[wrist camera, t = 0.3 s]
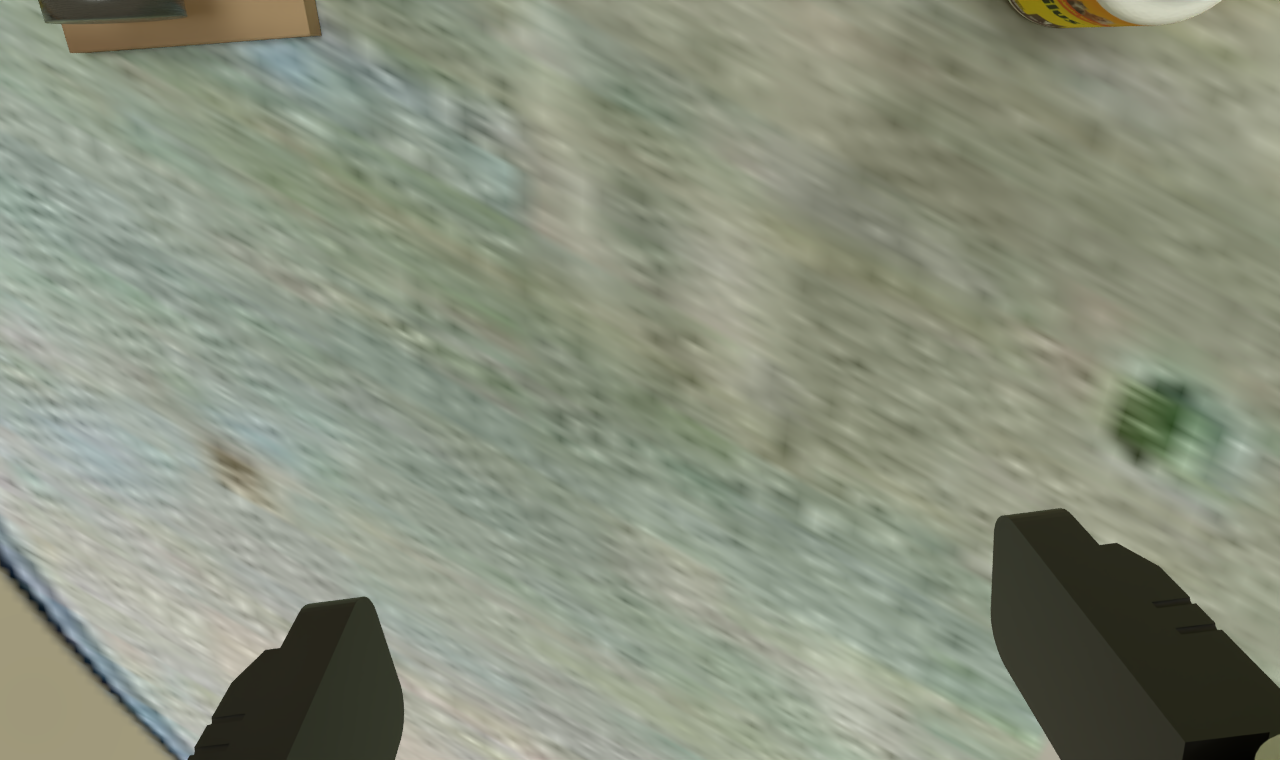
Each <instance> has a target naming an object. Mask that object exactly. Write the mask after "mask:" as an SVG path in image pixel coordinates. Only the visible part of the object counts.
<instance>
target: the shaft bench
mask: <svg viewBox="0 0 1280 760" xmlns="http://www.w3.org/2000/svg"><path fill="white" fill-rule="evenodd" d="M184 4H185V8H186V12H187V16H188V17H186V18H180V19H173V20H163V21H150V22H134V23H112V24H62V28H63V31H64V34H65V38H66V41H67V44H68V48H69V51H70V53H91V52H105V51H119V50H132V49H146V48H159V47H173V46H186V45H200V44H213V43H227V42H241V41H254V40H268V39H281V38H295V37H308V36H322V35H321V30H320V24H319V19H318V14H317V9H316V4H315V0H184Z"/></svg>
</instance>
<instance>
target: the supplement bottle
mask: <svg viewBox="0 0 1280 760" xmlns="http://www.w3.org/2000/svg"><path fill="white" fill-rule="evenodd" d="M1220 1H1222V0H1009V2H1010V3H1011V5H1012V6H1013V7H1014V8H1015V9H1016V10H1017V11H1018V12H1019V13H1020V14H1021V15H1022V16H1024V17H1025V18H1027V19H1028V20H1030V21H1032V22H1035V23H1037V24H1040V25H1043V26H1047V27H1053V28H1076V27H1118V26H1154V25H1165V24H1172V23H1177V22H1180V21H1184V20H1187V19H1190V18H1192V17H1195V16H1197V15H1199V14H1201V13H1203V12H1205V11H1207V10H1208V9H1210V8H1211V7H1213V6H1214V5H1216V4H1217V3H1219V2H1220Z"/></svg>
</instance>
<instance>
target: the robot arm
mask: <svg viewBox="0 0 1280 760" xmlns="http://www.w3.org/2000/svg"><path fill="white" fill-rule="evenodd" d="M991 624H992V630H993V635H994V639H995V643H996V646H997V649H998V652H999V655H1000V657H1001V659H1002V661H1003V663H1004V665H1005V667H1006V669H1007V670H1008V672H1009V674H1010V676H1011V677H1012V679H1013V681H1014V682H1015V684H1016V686H1017V687H1018V689H1019V691H1020V692H1021V694H1022V696H1023V697H1024V699H1025V701H1026V702H1027V704H1028V706H1029V707H1030V709H1031V711H1032V712H1033V714H1034V716H1035V717H1036V719H1037V721H1038V722H1039V724H1040V726H1041V727H1042V729H1043V731H1044V732H1045V734H1046V736H1047V737H1048V739H1049V741H1050V742H1051V744H1052V746H1053V747H1054V749H1055V751H1056V753H1057V754H1058V756H1059V758H1060V759H1061V760H1280V688H1279V687H1278V686H1277V685H1276V684H1275V683H1274V682H1273V681H1272V680H1271V679H1270V678H1269V677H1268V676H1267V675H1266V674H1265V673H1264V672H1263V671H1262V670H1261V669H1260V668H1259V667H1258V666H1257V665H1256V664H1255V663H1254V662H1253V661H1252V660H1251V659H1250V658H1249V657H1248V656H1247V655H1246V654H1245V653H1244V652H1243V651H1242V650H1241V649H1240V648H1239V647H1238V646H1237V645H1236V644H1235V643H1234V642H1233V641H1232V640H1231V639H1230V638H1229V637H1228V635H1227V634H1226V633H1225V632H1224V631H1223V630H1217V628H1216V626H1215V622H1214V621H1213V620H1212V619H1211V618H1210V617H1209V616H1208V615H1207V614H1206V613H1205V612H1204V611H1203V610H1202V609H1201V608H1200V607H1199V606H1198V605H1197V604H1192V603H1191V601H1190V597H1189V596H1188V595H1187V594H1186V593H1185V592H1184V591H1183V590H1182V589H1181V588H1180V587H1179V586H1178V585H1177V584H1176V583H1175V582H1174V581H1173V580H1172V579H1171V578H1170V577H1169V576H1168V575H1167V574H1166V573H1165V572H1164V571H1163V570H1162V569H1161V568H1160V567H1159V566H1158V565H1156V564H1154V563H1152V562H1150V561H1148V560H1147V559H1145V558H1143V557H1141V556H1139V555H1138V554H1136V553H1134V552H1132V551H1130V550H1129V549H1127V548H1125V547H1123V546H1121V545H1120V544H1118V543H1113V544H1105V545H1099V544H1098V543H1097V542H1096V541H1095V540H1094V539H1093V537H1092V536H1091V535H1090V534H1089V533H1088V532H1087V531H1086V530H1085V529H1084V528H1083V527H1082V525H1081V524H1080V523H1079V522H1078V521H1077V520H1076V519H1075V518H1074V517H1073V516H1072V515H1071V514H1070V513H1069V512H1068V511H1067V510H1065V509H1062V508H1059V509H1051V510H1043V511H1035V512H1028V513H1020V514H1012V515H1004V516H1000V517H999V518H998V519H997V521H996V524H995V529H994V546H993V570H992V594H991ZM403 723H404V702H403V694H402V689H401V685H400V682H399V679H398V676H397V673H396V670H395V667H394V664H393V661H392V658H391V655H390V652H389V649H388V646H387V643H386V640H385V637H384V634H383V630H382V627H381V624H380V621H379V618H378V615H377V612H376V610H375V607H374V605H373V603H372V602H371V601H370V599H368V598H367V597H358V598H350V599H342V600H335V601H327V602H319V603H312V604H307V605H305V606H304V607H303V608H302V609H301V611H300V612H299V614H298V616H297V618H296V619H295V621H294V623H293V625H292V627H291V629H290V631H289V633H288V635H287V636H286V638H285V640H284V642H283V644H282V646H281V648H278V649H270V650H265V651H264V652H263V653H262V654H261V655H260V656H259V657H258V658H257V659H256V660H255V661H254V662H253V663H252V664H251V665H249V666H248V667H247V668H246V669H245V670H244V671H243V672H242V673H241V674H240V675H239V676H238V677H237V678H236V679H235V680H234V681H233V682H232V683H231V685H230V687H229V688H228V690H227V692H226V694H225V695H224V697H223V699H222V701H221V702H220V704H219V706H218V708H217V709H216V711H215V713H214V714H213V716H212V724H211V725H207V727H206V728H205V730H204V732H203V734H202V735H201V737H200V739H199V741H198V742H197V744H196V746H195V747H194V748H195V753H194V755H190V756H189V758H188V760H395V757H396V754H397V750H398V747H399V744H400V740H401V736H402V731H403Z"/></svg>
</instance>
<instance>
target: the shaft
mask: <svg viewBox="0 0 1280 760" xmlns="http://www.w3.org/2000/svg"><path fill="white" fill-rule="evenodd" d="M38 1H39V4H40V8H41V11H42V14H43V17H44V21H45V23H50V24H112V23H134V22H150V21H163V20H173V19H180V18H186V17H188V16H187V12H186V8H185V4H184V0H38Z"/></svg>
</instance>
